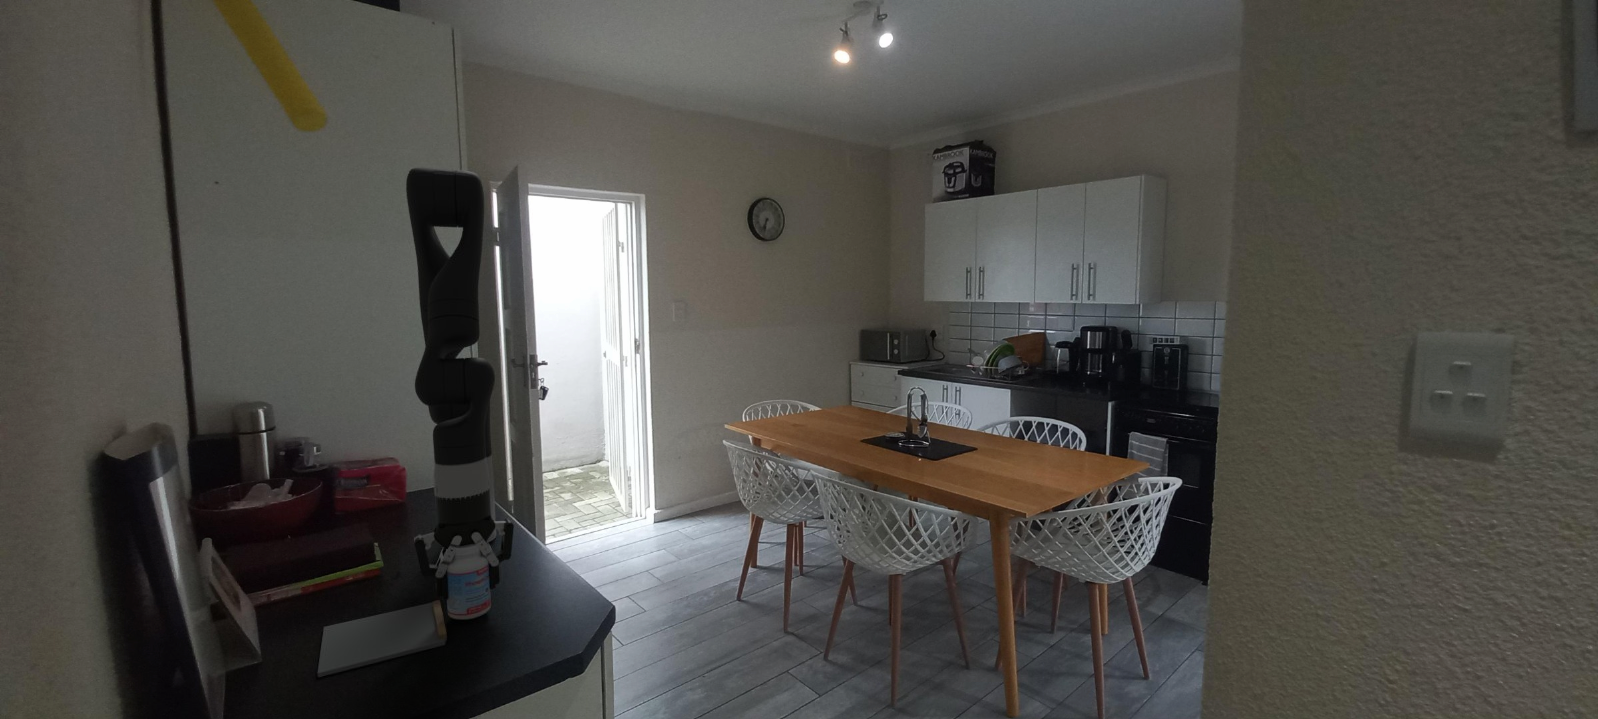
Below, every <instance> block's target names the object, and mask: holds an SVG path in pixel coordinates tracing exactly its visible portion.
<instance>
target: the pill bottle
mask: <svg viewBox="0 0 1598 719" xmlns="http://www.w3.org/2000/svg"><path fill="white" fill-rule="evenodd" d="M445 573H446V577H447V593H448V599H446V605H447V615H448V616H449V617H450V618H451V619H454V620H463V621H464V620H471V619H476V618H479V617H480V616H483V615H484V614H486V613H488V612H489V610H490V609H491V607H492V600H491V599H492V598H491V589H490V576H489V561H488V560H487V558H486V557H485V556H484V555H483V553H482V552H481V550H480V549H479V547H478V544H477V545H476V543H475V544H470V545H465V546H460V547H458V548H457V549H456V552H455V554H454V557H453V559H452V561H451V563H450V564H449V565H448V568H447V570H446V572H445Z"/></svg>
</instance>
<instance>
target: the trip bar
mask: <svg viewBox="0 0 1598 719" xmlns="http://www.w3.org/2000/svg"><path fill="white" fill-rule="evenodd" d="M432 603H433V609H434V614H435V620H436V625H437V630H438V636H439V639H442V638H445V642H448V635H447V628H446V625H445V624H446V623H445V619H444V614H443V610H442V604H441V600H440V599H438V600H434V601H432Z"/></svg>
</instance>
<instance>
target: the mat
mask: <svg viewBox="0 0 1598 719" xmlns="http://www.w3.org/2000/svg"><path fill="white" fill-rule="evenodd" d="M320 646H321V647H320V652H319V661H318V667H317V678H322V677H324V676H329V675H333V674H338V673H342V672H345V671H348V670H352V669H356V668H361V667H365V666H368V665H371V664H372V665H373V664H377V663H381V662H384V661H388V660H391V659H395V658H399V657H403V656H408V655H411V654H415V653H419V652H423V651H427V650H430V649H435V648H438V647H443V646H446V641H445V638H442V639H439V636H438V630H437V625H436V620H435V614H434V609H433V602H428V603H424V604H419V605H415V606H410V607H407V608H403V609H398V610H394V611H393V610H392V611H389V612H384V613H380V614H376V615H371V616H367V617H362V618H358V619H353V620H349V621H345V622H339V623H336V624H331V625H327V626H323V633H322V638H321V645H320Z"/></svg>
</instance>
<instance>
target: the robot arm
mask: <svg viewBox="0 0 1598 719" xmlns="http://www.w3.org/2000/svg"><path fill="white" fill-rule="evenodd" d="M405 182H406V183H405V184H406V185H405V187H406V189H405V190H406V191H405V193H406V201H407V202H406V203H407V207H408V214H409V219H410V227H411V231H412V238H413V243H414V249H415V256H416V264H417V278H418V280H417V281H418V297H419V308H420V309H419V310H420V319H421V326H422V332H423V338H424V339H423V340H424V345H425V346H424V347H425V348H424V350H423V354H422V358H421V361H420V363H419V366H418V369H417V372H416V375H415V379H414V390H415V394H416V397H417V398H418V400H420V402H421V403H422V404H424V405H425V406H428V413H429V416H430V419H431V420H432V422H433V423H434V424H436V425H435V426H434V427H433V431H432V444H433V457H434V470H433V491H434V503H435V506H434V507H435V519H436V526H435V528H434V530H433V532H429V533H426V534H420V533H417V534H416V535H414V537H413V543H414V547H415V551H416V557H417V559H418V560H417V561H418V565H419V569H420V573H421V575H422V577H424V578H426V577H433V578H434V579H435V591H436V596H437V597H438V598H442V601H445V600H446V601H447V599H448V593H447V577H446V570H447V568H448V565H449V564H450V563H451V561H452V559H453V557H454V554H455V552H456V549H457V548H458V547H460V546H465V545H470V544H475V543H476V545H477V544H478V547H479V549H480V550H481V552H482V553H483V555H484V556H485V557H486V558H487V560H488V561H489V576H490V590H494V589H496V585H499V583H500V564H501V563H502V562H503V561H508V560H510V559H511V558H512V551H513V550H512V548H513V539H514V538H513V537H514V529H515V527H514V522H513V521H512V519H511V518H509V517H508V518H505V519H504V520H498V521H497V520H496V506H495V505H496V504H495V502H496V501H495V486H494V470H493V450H492V439H491V438H492V436H491V398H492V394H493V391H494V388H495V387H494V386H495V379H496V378H495V377H496V375H495V371H494V368H493V365H491V363H490V362H489V361H488V360H487V359H485V358H483V357H465V358H464V357H462V358H461V357H458V356H459V354H461V352H462V351H463V350H464V349H465V348H468V347H471V346H473V345H475V344H476V343H477V342H479V339H480V335H481V334H480V330H481V328H480V307H479V284H480V283H479V282H480V271H481V270H480V269H481V262H482V252H483V242H484V240H483V238H484V227H485V226H484V225H485V194H484V188H483V184H482V180H481V178H480V176H479V175H478V174H477V173H476V172H474V171H469V170H461V169H446V168H433V167H414V168H411V169H410V170H409V172H408V174H407V176H406V181H405ZM435 227H439V228H461V229H462V231H461V237H460V240H459V243H458V244H457V246H456V248H455V249H454V251H453V253H452V254H451V256H450V255H449V254H448V252H447V251H446V250H445V247H444V246H443V244H442V243H441V240H440V238H439V236H438V234H437V232H436V229H435ZM497 532H498V534H499V536H501V541H500V544H501V545H500V550H499V551H497V552H495V550H493V549H492V547H491V545H490V542H493V541H494V540H495V538H497ZM434 541H436V542H437V543H438V544H439V545H441V547H442V549H441V551H440V553H439V557H438V560H437V561H436V563H435V564H430V561H429V558H428V554H427V551H428V550H430V548H431V547H432V542H434Z"/></svg>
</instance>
